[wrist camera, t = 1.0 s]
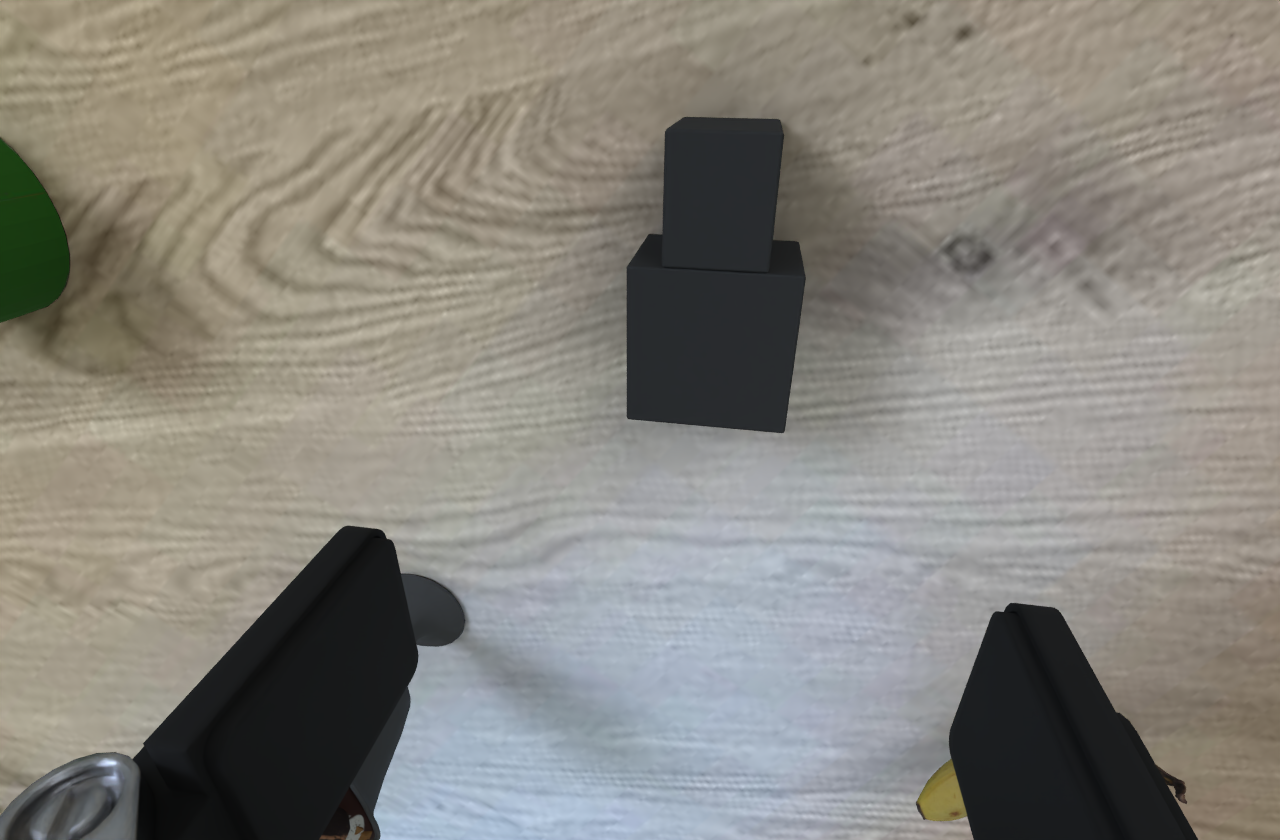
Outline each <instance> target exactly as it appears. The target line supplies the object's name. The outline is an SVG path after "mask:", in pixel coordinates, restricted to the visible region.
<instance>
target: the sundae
mask: <svg viewBox="0 0 1280 840" xmlns="http://www.w3.org/2000/svg"><path fill="white" fill-rule="evenodd" d="M401 577H402V582H403V586H404V591H405V595H406V600H407V604H408V609H409V613H410V618H411V622H412V627H413V631H414V636H415V641H416V644H417V645H421V646H443V645H447V644H450V643H452V642H453V641H455V640H456V639H457V638H458V637H459V636H460V635H461V634H462V632H463V629H464V624H465V619H464V615H463V612H462V609H461V607H460V605H459V603H458V602H457V601H456V599H455V598H454V597H453V596H452V595H451V593H450V592H449V591H447V590H446V589H445V588H443V587H442V586H441V585H439V584H437V583H436V582H434V581H432V580H429V579H427V578H424V577H421V576H418V575H412V574H401ZM409 708H410V694H409V690H408V687H407V688H406V690H405V691H404V693H403V695H402V697H401V698H400V700H399V702H398V703H397V705H396V707H395V709H394V710H393V712H392V714H391V716H390V717H389V719H388V721H387V723H386V724H385V726H384V728H383V730H382V731H381V733H380V735H379V737H378V738H377V740H376V742H375V743H374V745H373V747H372V749H371V750H370V752H369V754H368V756H367V757H366V759H365V761H364V763H363V764H362V766H361V768H360V770H359V771H358V773H357V775H356V777H355V778H354V780H353V782H352V783H351V785H350V787H349V789H348V790H347V792H346V794H345V796H344V797H343V799H342V801H341V803H340V804H339V806H338V808H337V810H336V811H335V813H334V815H333V817H332V818H331V820H330V822H329V824H328V825H327V827H326V829H325V830H324V832H323V834H322V836H321V837H320V839H319V840H379V839H380V830H379V826H378V824H377V822H376V820H375V818H374V816H373V812H374V809H375V805H376V802H377V799H378V796H379V793H380V790H381V786H382V783H383V780H384V777H385V775H386V772H387V770H388V767H389V765H390V762H391V760H392V757H393V754H394V752H395V749H396V747H397V744H398V742H399V739H400V737H401V734H402V731H403V728H404V725H405V721H406V718H407V715H408V711H409Z"/></svg>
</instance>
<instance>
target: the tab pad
mask: <svg viewBox="0 0 1280 840" xmlns="http://www.w3.org/2000/svg"><path fill="white" fill-rule="evenodd" d="M783 140H784V134H783V130H782V126H781V122H780V120H778V119H747V118H704V117H684V118H682V119H681V120H679V121H678V122H676V123H675V124H673V125H672V126H671V127H669V128H668V129H666V131H665V156H664V194H663V233H662V235H655V234H649V235H648V236H647V238H646V239H645V241H644V242H643V244H642V245H641V247H640V248H639V250H638V251H637V253H636V254H635V256H634V257H633V259H632V260H631V262H630V263H629V265H628V266H627V418H628V419H632V420H644V421H655V422H666V423H677V424H688V425H699V426H710V427H721V428H732V429H743V430H754V431H765V432H776V433H784V431H785V426H786V418H787V411H788V404H789V396H790V389H791V382H792V375H793V367H794V360H795V353H796V345H797V338H798V331H799V324H800V316H801V309H802V302H803V294H804V287H805V280H806V277H805V272H804V266H803V261H802V256H801V250H800V245H799V242H797V241H777V240H773V232H774V223H775V214H776V205H777V195H778V186H779V177H780V168H781V158H782V149H783Z"/></svg>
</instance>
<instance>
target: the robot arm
mask: <svg viewBox="0 0 1280 840" xmlns="http://www.w3.org/2000/svg"><path fill="white" fill-rule="evenodd" d="M417 663H418V650H417V645H416V641H415V636H414V631H413V627H412V622H411V618H410V613H409V609H408V604H407V600H406V595H405V591H404V586H403V582H402V577H401V573H400V568H399V564H398V559H397V554H396V550H395V546H394V543H393V542H392V541H391V540H389V539H387V538H386V536H385V533H384V532H383V531H382V530H379V529H372V528H364V527H355V526H345V527H343V528H342V529H340V530H339V531H338V532H337V533H336V534H335V535H334V536H333V537H332V539H331V540H330V541H329V542H328V543H327V544H326V545H325V546H324V547H323V548H322V549H321V551H320V552H319V553H318V554H317V555H316V556H315V557H314V558H313V559H312V560H311V561H310V563H309V564H308V565H307V566H306V567H305V568H304V569H303V570H302V571H301V572H300V573H299V575H298V576H297V577H296V578H295V579H294V580H293V581H292V582H291V583H290V584H289V585H288V586H287V588H286V589H285V590H284V591H283V592H282V593H281V594H280V595H279V596H278V597H277V598H276V600H275V601H274V602H273V603H272V604H271V605H270V606H269V607H268V608H267V609H266V610H265V612H264V613H263V614H262V615H261V616H260V617H259V618H258V619H257V620H256V621H255V622H254V624H253V625H252V626H251V627H250V628H249V629H248V630H247V631H246V632H245V633H244V634H243V635H242V637H241V638H240V639H239V640H238V641H237V642H236V643H235V644H234V645H233V646H232V647H231V649H230V650H229V651H228V652H227V653H226V654H225V655H224V656H223V657H222V658H221V659H220V661H219V662H218V663H217V664H216V665H215V666H214V667H213V668H212V669H211V670H210V671H209V673H208V674H207V675H206V676H205V677H204V678H203V679H202V680H201V681H200V682H199V683H198V684H197V686H196V687H195V688H194V689H193V690H192V691H191V692H190V693H189V694H188V695H187V696H186V698H185V699H184V700H183V701H182V702H181V703H180V704H179V705H178V706H177V707H176V708H175V710H174V711H173V712H172V713H171V714H170V715H169V716H168V717H167V718H166V719H165V720H164V722H163V723H162V724H161V725H160V726H159V727H158V728H157V729H156V730H155V731H154V732H153V733H152V735H151V736H150V737H149V738H148V739H147V740H146V741H145V742H144V743H143V744H144V747H143V748H142V749H141V751H140V752H139V753H138V754H137V755H136V756H135V757H134V758H133V759H131V758H130V757H129V756H126V755H123V754H120V753H116V752H110V753H96V754H92V755H89V756H85V757H82V758H78V759H75V760H73V761H71V762H69V763H67V764H64V765H62V766H60V767H58V768H56V769H54V770H52V771H51V772H49V773H48V774H46V775H45V776H43V777H42V778H40V779H39V780H37V781H36V782H34V783H33V784H31V785H30V786H29V787H28V788H27V789H25V790H24V791H23V792H22V793H21V794H20V795H19V796H18V797H16V798H15V799H14V800H13V801H12V802H11V803H10V804H9V806H8V807H7V808H6V809H5V811H4V812H3V813H2V814H1V816H0V840H319V839H320V837H321V836H322V834H323V832H324V830H325V829H326V827H327V825H328V824H329V822H330V820H331V818H332V817H333V815H334V813H335V811H336V810H337V808H338V806H339V804H340V803H341V801H342V799H343V797H344V796H345V794H346V792H347V790H348V789H349V787H350V785H351V783H352V782H353V780H354V778H355V777H356V775H357V773H358V771H359V770H360V768H361V766H362V764H363V763H364V761H365V759H366V757H367V756H368V754H369V752H370V750H371V749H372V747H373V745H374V743H375V742H376V740H377V738H378V737H379V735H380V733H381V731H382V730H383V728H384V726H385V724H386V723H387V721H388V719H389V717H390V716H391V714H392V712H393V710H394V709H395V707H396V705H397V703H398V702H399V700H400V698H401V697H402V695H403V693H404V691H405V690H406V688H407V686H408V684H409V683H410V681H411V679H412V677H413V675H414V673H415V671H416V668H417ZM949 747H950V754H951V759H952V762H953V766H954V769H955V773H956V777H957V780H958V784H959V788H960V791H961V795H962V798H963V802H964V806H965V809H966V813H967V817H968V820H969V824H970V827H971V831H972V835H973V838H974V840H1198V838H1197V837H1196V835H1195V833H1194V831H1193V830H1192V828H1191V826H1190V824H1189V823H1188V821H1187V819H1186V817H1185V816H1184V814H1183V812H1182V810H1181V809H1180V807H1179V805H1178V803H1177V802H1176V800H1175V798H1174V796H1173V794H1172V793H1171V791H1170V789H1169V787H1168V786H1167V784H1166V782H1165V780H1164V779H1163V777H1162V775H1161V773H1160V772H1159V770H1158V768H1157V766H1156V765H1155V763H1154V761H1153V759H1152V757H1151V756H1150V754H1149V752H1148V750H1147V749H1146V747H1145V745H1144V743H1143V742H1142V740H1141V738H1140V736H1139V735H1138V733H1137V731H1136V730H1135V728H1134V727H1133V726H1132V724H1131V723H1130V721H1129V720H1128V719H1126V718H1125V717H1124V716H1123V715H1121V714H1120V713H1117V712H1115V710H1114V708H1113V706H1112V704H1111V703H1110V701H1109V699H1108V697H1107V695H1106V694H1105V692H1104V690H1103V688H1102V686H1101V684H1100V683H1099V681H1098V679H1097V677H1096V675H1095V674H1094V672H1093V670H1092V668H1091V666H1090V665H1089V663H1088V661H1087V659H1086V657H1085V655H1084V654H1083V652H1082V650H1081V648H1080V646H1079V645H1078V643H1077V641H1076V639H1075V637H1074V636H1073V634H1072V632H1071V630H1070V628H1069V627H1068V625H1067V623H1066V621H1065V619H1064V617H1063V616H1062V614H1061V613H1060V612H1059V611H1058V610H1057V609H1055V608H1052V607H1044V606H1035V605H1026V604H1018V603H1010V604H1009V605H1008V606H1007V607H1006V609H1005V611H1004V612H999V611H998V612H995V613H993V615H992V617H991V619H990V622H989V625H988V627H987V630H986V633H985V636H984V638H983V641H982V644H981V647H980V649H979V652H978V655H977V658H976V660H975V663H974V666H973V669H972V671H971V674H970V677H969V679H968V682H967V685H966V688H965V690H964V693H963V696H962V699H961V701H960V704H959V707H958V710H957V712H956V715H955V718H954V721H953V723H952V726H951V729H950V735H949Z"/></svg>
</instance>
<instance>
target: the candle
mask: <svg viewBox="0 0 1280 840" xmlns="http://www.w3.org/2000/svg"><path fill="white" fill-rule="evenodd" d="M68 275H69V250H68V245H67V240H66V235H65V232H64V230H63V227H62V224H61V221H60V218H59V216H58V213H57V212H56V210H55V208H54V206H53V204H52V202H51V200H50V198H49V196H48V194H47V193H46V191H45V190H44V188H43V187H42V185H41V184H40V182H39V181H38V179H37V178H36V177H35V175H34V174H33V172H32V171H31V170H30V169H29V167H28V166H27V165H26V164H25V163H24V162H23V161H22V159H21V158H20V157H19V156H18V155H17V154H16V153H15V151H14V150H12V149H11V148H10V147H9V146H8V145H7V144H6V143H5V142H4V141H3V140H2V139H0V323H1V322H4V321H7V320H10V319H13V318H16V317H19V316H22V315H24V314H27V313H30V312H33V311H36V310H39V309H42V308H44V307H47V306H49V305H50V304H51V303H53V302H54V301H55V300H56V299H58V298H59V296H60V295H61V293H62V291H63V290H64V288H65V286H66V283H67V279H68Z"/></svg>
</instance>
